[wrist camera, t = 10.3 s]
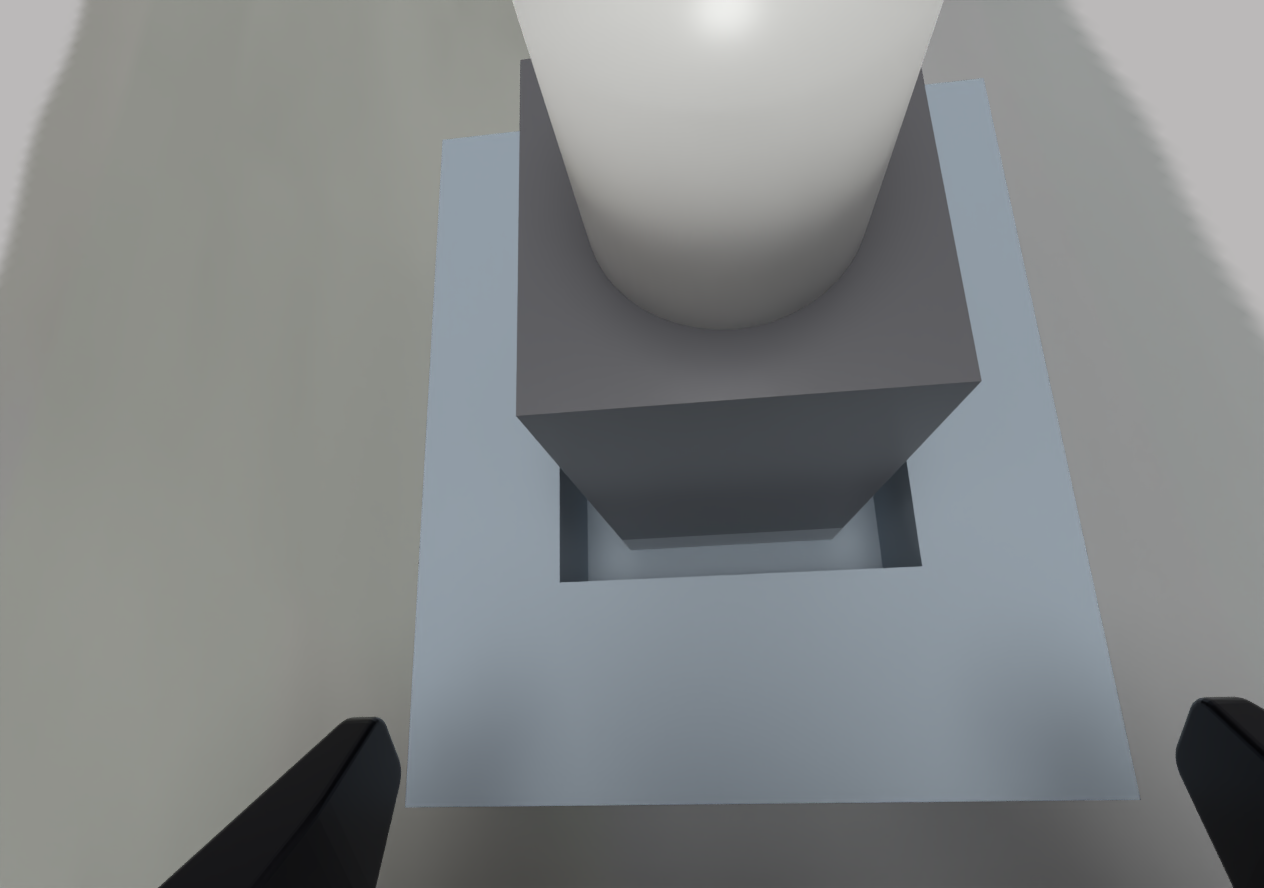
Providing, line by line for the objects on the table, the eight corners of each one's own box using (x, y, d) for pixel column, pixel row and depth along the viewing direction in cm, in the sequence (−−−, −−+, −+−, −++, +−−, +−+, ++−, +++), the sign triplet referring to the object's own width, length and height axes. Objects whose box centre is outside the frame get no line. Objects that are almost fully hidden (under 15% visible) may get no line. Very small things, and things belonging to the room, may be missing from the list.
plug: (832, 539, 16) (1176, 174, 4) (631, 550, 16) (379, 255, 4) (810, 352, 17) (1014, -351, 5) (624, 367, 17) (418, -245, 6)
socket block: (1033, 762, 15) (1141, 799, 11) (479, 771, 16) (404, 807, 12) (930, 194, 19) (983, 78, 15) (495, 237, 20) (442, 140, 16)
